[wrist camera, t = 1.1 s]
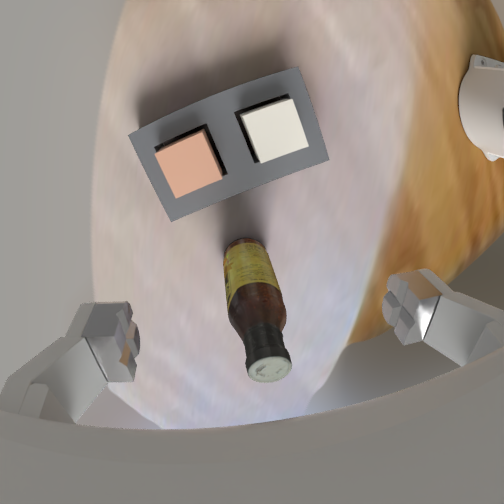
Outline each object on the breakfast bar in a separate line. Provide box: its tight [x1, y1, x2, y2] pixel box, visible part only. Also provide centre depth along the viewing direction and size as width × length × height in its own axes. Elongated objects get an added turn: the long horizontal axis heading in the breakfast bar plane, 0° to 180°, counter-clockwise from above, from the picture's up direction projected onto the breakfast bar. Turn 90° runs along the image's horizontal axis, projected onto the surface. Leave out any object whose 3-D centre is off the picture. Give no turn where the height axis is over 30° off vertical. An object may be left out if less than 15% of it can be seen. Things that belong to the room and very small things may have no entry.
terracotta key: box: [155, 129, 222, 198], centre depth 29 cm, size 5×5×4 cm
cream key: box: [240, 99, 309, 163], centre depth 29 cm, size 5×5×4 cm
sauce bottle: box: [223, 238, 292, 383], centre depth 34 cm, size 6×6×20 cm
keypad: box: [128, 67, 329, 222], centre depth 32 cm, size 19×11×5 cm, turn 111°
